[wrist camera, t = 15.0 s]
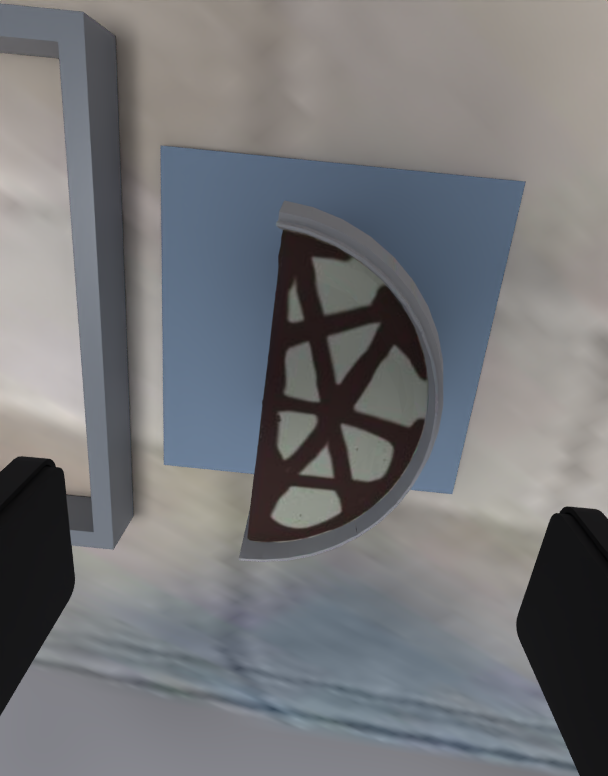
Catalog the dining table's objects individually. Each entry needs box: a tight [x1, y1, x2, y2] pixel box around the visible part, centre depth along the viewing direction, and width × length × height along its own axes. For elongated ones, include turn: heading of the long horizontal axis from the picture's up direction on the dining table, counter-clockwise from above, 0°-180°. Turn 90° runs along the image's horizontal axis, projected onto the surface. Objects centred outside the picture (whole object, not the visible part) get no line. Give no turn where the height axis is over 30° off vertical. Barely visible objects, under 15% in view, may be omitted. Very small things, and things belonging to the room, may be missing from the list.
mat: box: [161, 146, 525, 494], centre depth 25 cm, size 16×16×1 cm
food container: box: [239, 201, 443, 562], centre depth 20 cm, size 12×6×10 cm, turn 172°
